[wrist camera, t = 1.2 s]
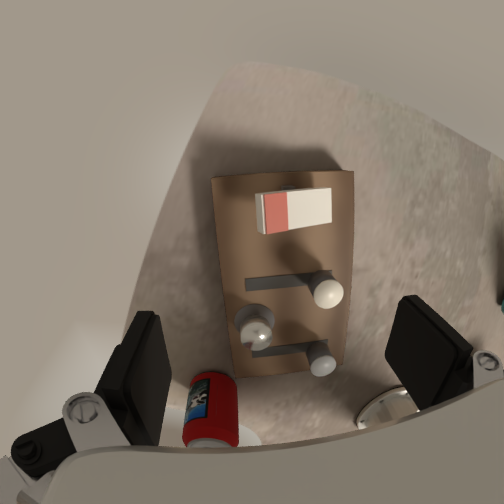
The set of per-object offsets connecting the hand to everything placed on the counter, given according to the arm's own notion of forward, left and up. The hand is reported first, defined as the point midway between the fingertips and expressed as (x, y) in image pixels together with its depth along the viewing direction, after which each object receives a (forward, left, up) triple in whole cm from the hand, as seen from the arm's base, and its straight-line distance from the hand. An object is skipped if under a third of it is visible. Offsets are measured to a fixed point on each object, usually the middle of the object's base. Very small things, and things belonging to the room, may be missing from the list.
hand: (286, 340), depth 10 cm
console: (-3, +7, -21) cm, 23 cm away
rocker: (-3, -2, -16) cm, 17 cm away
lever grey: (-6, +15, -18) cm, 24 cm away
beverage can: (+7, +23, -21) cm, 32 cm away
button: (+1, +10, -17) cm, 20 cm away
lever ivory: (-6, +6, -18) cm, 20 cm away
